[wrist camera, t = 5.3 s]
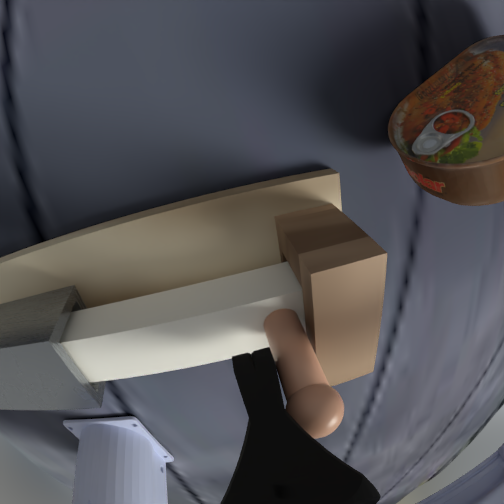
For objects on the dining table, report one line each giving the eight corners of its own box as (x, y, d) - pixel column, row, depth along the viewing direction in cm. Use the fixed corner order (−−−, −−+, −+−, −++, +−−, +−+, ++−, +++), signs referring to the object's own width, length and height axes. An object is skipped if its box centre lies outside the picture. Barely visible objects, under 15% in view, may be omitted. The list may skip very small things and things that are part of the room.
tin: (491, 28, 12) (586, 38, 4) (507, 66, 13) (598, 86, 6) (356, 133, 15) (479, 181, 7) (383, 178, 16) (494, 247, 9)
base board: (337, 315, 20) (343, 325, 19) (12, 377, 18) (9, 386, 17) (330, 168, 15) (339, 173, 14) (-54, 279, 13) (-61, 287, 13)
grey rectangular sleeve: (111, 349, 17) (101, 407, 13) (6, 364, 16) (-12, 408, 13) (74, 284, 15) (48, 341, 11) (-31, 312, 14) (-58, 355, 10)
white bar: (326, 299, 17) (396, 422, 9) (62, 356, 16) (31, 474, 8) (323, 252, 15) (414, 377, 8) (37, 319, 14) (-12, 441, 7)
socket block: (336, 310, 18) (373, 371, 14) (289, 323, 18) (317, 390, 14) (332, 203, 15) (387, 252, 11) (274, 216, 15) (310, 274, 10)
